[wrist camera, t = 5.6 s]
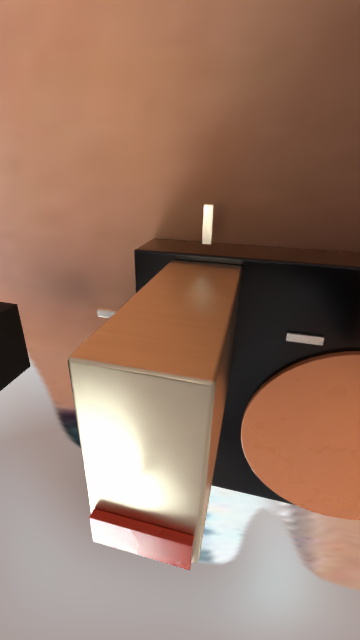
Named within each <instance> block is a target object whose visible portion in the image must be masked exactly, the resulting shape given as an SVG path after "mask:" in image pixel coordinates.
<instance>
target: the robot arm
mask: <svg viewBox="0 0 360 640" xmlns="http://www.w3.org/2000/svg"><path fill="white" fill-rule="evenodd" d="M29 367H30V362H29V357H28V352H27V348H26V343H25V339H24V334H23V329H22V325H21V320H20V316H19V311H18V307H17V304H11V303H4V302H0V391H1V390H2V389H3V388H5V387H6V386H7V385H8V384H9V383H10V382H12V381H13V380H14V379H15V378H17V377H18V376H19V375H20V374H21V373H23V372H24V371H25V370H26V369H27V368H29Z"/></svg>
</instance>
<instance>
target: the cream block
mask: <svg viewBox="0 0 360 640" xmlns="http://www.w3.org/2000/svg"><path fill="white" fill-rule="evenodd" d="M241 276H242V266H238V265H227V264H216V263H205V262H195V261H184V260H171V261H170V262H169V263H168V264H167V265H166V266H165V267H164V268H163V269H162V270H161V271H159V272H158V273H157V274H156V275H155V276H154V277H153V278H152V279H151V280H150V281H149V282H148V283H147V284H146V285H145V286H144V287H142V288H141V289H140V290H139V291H138V292H137V293H136V294H135V295H134V296H133V297H132V298H131V299H130V300H129V301H128V302H126V303H125V304H124V305H123V306H122V307H121V308H120V309H119V310H118V311H117V312H116V313H115V314H114V315H113V316H112V317H110V318H109V319H108V320H107V321H106V322H105V323H104V324H103V325H102V326H101V327H100V328H99V329H98V330H97V331H96V332H95V333H93V334H92V335H91V336H90V337H89V338H88V339H87V340H86V341H85V342H84V343H83V344H82V345H81V346H80V347H79V348H77V349H76V350H75V351H74V352H73V353H72V354H71V355H70V356H69V358H68V366H69V372H70V379H71V385H72V392H73V399H74V405H75V412H76V418H77V425H78V431H79V438H80V444H81V451H82V457H83V464H84V470H85V477H86V483H87V489H88V497H89V503H90V510H91V515H90V523H91V529H92V536H93V541H94V542H97V543H100V544H104V545H107V546H110V547H114V548H117V549H120V550H124V551H127V552H130V553H134V554H137V555H140V556H144V557H147V558H150V559H154V560H157V561H160V562H164V563H167V564H170V565H174V566H177V567H180V568H184V569H187V570H190V568H191V563H197V562H198V560H199V555H200V550H201V544H202V538H203V532H204V526H205V520H206V514H207V508H208V502H209V496H210V490H211V484H212V478H213V472H214V467H215V461H216V455H217V449H218V443H219V437H220V431H221V425H222V419H223V413H224V407H225V401H226V395H227V390H228V384H229V376H230V367H231V359H232V351H233V343H234V334H235V326H236V318H237V310H238V301H239V293H240V285H241Z"/></svg>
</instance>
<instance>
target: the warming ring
mask: <svg viewBox="0 0 360 640" xmlns="http://www.w3.org/2000/svg"><path fill="white" fill-rule="evenodd" d="M241 441H242V448H243V451H244V454H245V457H246V459H247V461H248V463H249V465H250V467H251V468H252V470H253V471H254V473H255V474H256V475H257V476H258V478H259V479H260V480H261V481H262V482H263V483H264V484H265V485H266V486H267V487H269V488H270V489H271V490H272V491H274V492H275V493H276V494H278V495H279V496H281V497H282V498H284V499H286V500H287V501H289V502H291V503H293V504H295V505H297V506H299V507H302V508H304V509H307V510H310V511H312V512H316V513H319V514H323V515H327V516H332V517H337V518H343V519H352V520H360V351H345V352H337V353H329V354H325V355H320V356H316V357H312V358H309V359H306V360H303V361H300V362H298V363H295V364H293V365H291V366H289V367H287V368H285V369H283V370H282V371H280V372H279V373H277V374H275V375H274V376H272V377H271V378H270V379H269V380H268V381H266V382H265V383H264V384H263V385H262V386H261V387H260V388H259V389H258V390H257V392H256V393H255V394H254V395H253V397H252V398H251V400H250V402H249V403H248V405H247V408H246V410H245V412H244V416H243V420H242V426H241Z"/></svg>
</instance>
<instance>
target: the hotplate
mask: <svg viewBox="0 0 360 640" xmlns="http://www.w3.org/2000/svg"><path fill="white" fill-rule="evenodd" d="M213 216H214V205H213V204H204V210H203V230H202V242H195V241H181V240H167V239H152V240H150V241H149V242H147V243H145V244H144V245H142V246H140V247H139V248H137V249H135V251H134V253H135V276H136V293H137V292H138V291H139V290H140V289H141V288H142V287H144V286H145V285H146V284H147V283H148V282H149V281H150V280H151V279H152V278H153V277H154V276H155V275H156V274H157V273H158V272H159V271H161V270H162V269H163V268H164V267H165V266H166V265H167V264H168V263H169V262H170V261H171V260H184V261H195V262H205V263H216V264H227V265H238V266H242V276H241V285H240V293H239V301H238V310H237V318H236V326H235V334H234V343H233V351H232V359H231V367H230V376H229V384H228V390H227V395H226V401H225V407H224V413H223V419H222V425H221V431H220V437H219V443H218V449H217V455H216V461H215V467H214V472H213V478H212V484H211V485H212V486H217V487H221V488H225V489H230V490H234V491H238V492H242V493H247V494H251V495H255V496H259V497H264V498H268V499H272V500H277V501H281V502H285V503H289V504H293V503H291V502H289V501H287V500H286V499H284V498H282V497H281V496H279V495H278V494H276V493H275V492H274V491H272V490H271V489H270V488H269V487H267V486H266V485H265V484H264V483H263V482H262V481H261V480H260V479H259V478H258V476H257V475H256V474H255V473H254V471H253V470H252V468H251V467H250V465H249V463H248V461H247V459H246V457H245V454H244V451H243V448H242V441H241V426H242V420H243V416H244V412H245V410H246V408H247V405H248V403H249V402H250V400H251V398H252V397H253V395H254V394H255V393H256V392H257V390H258V389H259V388H260V387H261V386H262V385H263V384H264V383H265V382H266V381H268V380H269V379H270V378H271V377H272V376H274V375H275V374H277V373H279V372H280V371H282V370H283V369H285V368H287V367H289V366H291V365H293V364H295V363H298V362H300V361H303V360H306V359H309V358H312V357H316V356H320V355H325V354H329V353H337V352H345V351H360V253H351V252H337V251H322V250H308V249H294V248H280V247H266V246H252V245H237V244H223V243H212V232H213ZM117 311H118V310H110V309H102V308H98V309H97V316H99V317H107V318H110V317H112V316H113V315H114V314H115V313H116V312H117ZM294 505H295V504H294Z"/></svg>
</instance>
